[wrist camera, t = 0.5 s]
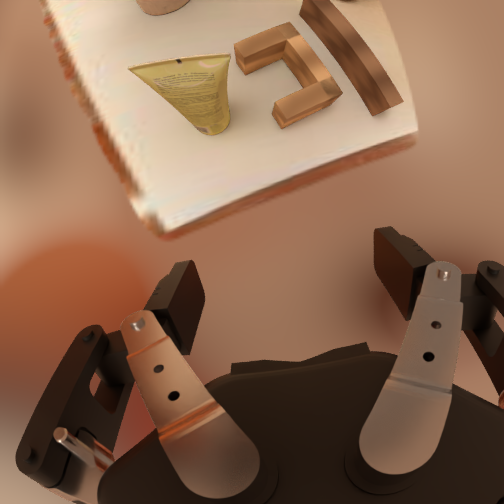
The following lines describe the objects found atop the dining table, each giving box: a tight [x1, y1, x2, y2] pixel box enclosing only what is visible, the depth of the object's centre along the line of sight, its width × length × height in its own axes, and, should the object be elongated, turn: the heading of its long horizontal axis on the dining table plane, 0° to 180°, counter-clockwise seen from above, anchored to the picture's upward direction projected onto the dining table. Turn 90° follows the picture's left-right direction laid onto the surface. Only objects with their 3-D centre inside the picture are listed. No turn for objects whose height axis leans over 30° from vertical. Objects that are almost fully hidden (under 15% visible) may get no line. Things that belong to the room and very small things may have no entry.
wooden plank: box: [299, 0, 404, 116], centre depth 28 cm, size 20×2×6 cm, turn 31°
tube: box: [128, 53, 231, 135], centre depth 24 cm, size 6×5×20 cm
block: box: [234, 22, 343, 129], centre depth 29 cm, size 12×8×6 cm, turn 31°
